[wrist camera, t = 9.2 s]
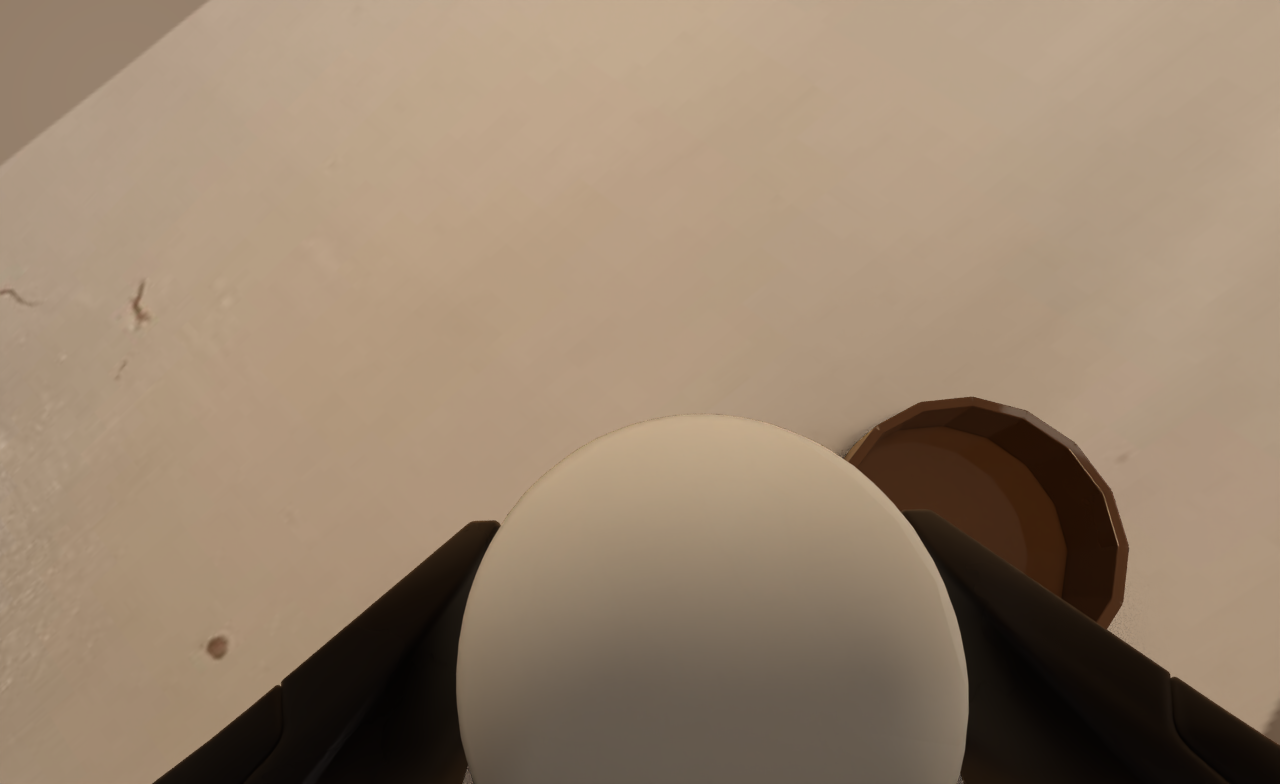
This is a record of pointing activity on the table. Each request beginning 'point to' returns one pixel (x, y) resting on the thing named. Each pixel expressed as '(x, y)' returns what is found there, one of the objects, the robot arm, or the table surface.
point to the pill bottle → (709, 621)
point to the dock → (1006, 493)
